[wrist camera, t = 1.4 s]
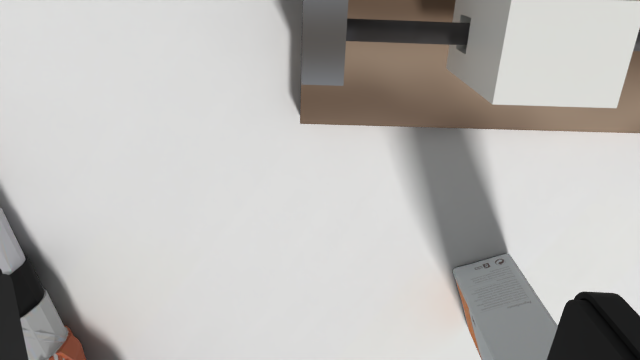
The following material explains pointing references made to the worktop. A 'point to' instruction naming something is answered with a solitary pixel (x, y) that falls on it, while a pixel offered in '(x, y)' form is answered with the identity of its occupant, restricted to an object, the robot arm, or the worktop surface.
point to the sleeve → (546, 50)
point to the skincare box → (504, 311)
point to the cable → (35, 305)
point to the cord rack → (420, 74)
